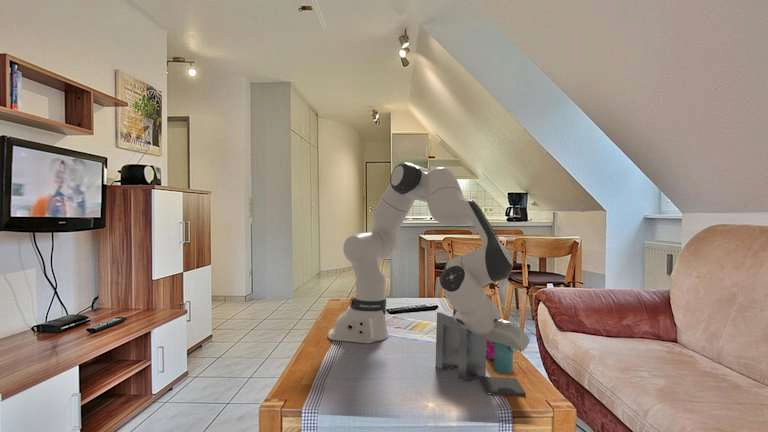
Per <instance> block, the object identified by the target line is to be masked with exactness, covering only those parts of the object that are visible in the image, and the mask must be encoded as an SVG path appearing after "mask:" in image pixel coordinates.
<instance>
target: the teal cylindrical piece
mask: <svg viewBox="0 0 768 432" xmlns="http://www.w3.org/2000/svg"><path fill="white" fill-rule="evenodd" d="M508 348H509V346H506V345H503V344H500V343H497V342H495V345H494V360H493V371H495V372H496V373H499V374H504V375H508V374H512V373H513V371H514V370H513V369H514V352H511V351H510V350H509V349H508Z"/></svg>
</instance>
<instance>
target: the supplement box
mask: <svg viewBox="0 0 768 432" xmlns="http://www.w3.org/2000/svg"><path fill="white" fill-rule="evenodd" d="M486 358H488V360H490V361H494V345H492V344H491V343H490V342H489V341H488V340H487V345H486Z"/></svg>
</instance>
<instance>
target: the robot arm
mask: <svg viewBox="0 0 768 432" xmlns="http://www.w3.org/2000/svg"><path fill="white" fill-rule="evenodd" d="M389 181H390V183H389V185H388V186H387V187H386V189H385V191H384V192H383V194H382V196H381V197H380V200H379V202H378V203H377V205H376V207H375V209H374V211H373V213H372V218H373V220H374V223H373V227H372V229H371V230H370V231H369V232H368V231H367V232H358V233H355V234H352V235H350V236H348V237H347V238H346V239H345V240H344V243H343V254H344V256H345V258H346V259H347V260H348V261H349V262H350V263H351V266H352V268H353V272H354V276H355V296H351V297H350V298H349V308H347V310H345V311H343V313H341V314H340V315H338V316H337V318H336V320H335V322H334V327H332V328H331V329H330V330H328V334H327V337H328V339H329V340H332V341H340V342H351V343H361V344H372V343H374V342H379V341H383V340H386V339H387V338H389V332H388V328H387V327H388V326H387V319H386V313H387V298H386V282H387V280H386V277H385V275H384V274H383V273H382V272H381V269H380V266H379V261H386V260H387V259H388V260H389V258H391V257H393V256H395V255H396V253H397V252H398V248H399V242H398V236H399V235H398V234H399V231H400V229H401V226H402V225H403V223H404V220H405V219H406V217H407V216H408V214H409V211H410V210H411V208H412V206H413V204H414V202H415V201H420V202H424V203H427V207H428V210H429V212H430V215H431V218H432V219H433V220H434V221H435V222H437V223H439V224H440V225H443V226H448V227H449V226H450V227H457V226H467V225H470V226H473V227H474V229H475V231H476V232H477V235H478V236H479V238H480V240H481V241H482V244H481V246H479V248H476V249H474V250H472V251H469V252H466V253H465V254H462V255H459V256H457V257H454V258H453V259H451V260H450V259H449V261H447V262H446V264H445V265H444V267H443V271H442V274H441V276H440V279H439V285H440V288H441V290H442V293H443V294H444V296H445V298H446V300H447V301H448V302H449V304H450V305H451V306H452V308H454V309H455V310H456V311H457V312H456V314H455V315H454V317H453V318H454V320H455V321H456V322H458V323H459V324H460V325H461V326H462V327H463V328H464V329H465V328H468V330H469V331H470V332H471V333H472V334H474V335H477V336H480V337H483V338H485V339H486V340H488V341H489V342H490V343H491V344H492V345H495V342H497V343H500V344H503V345H506V346H509V348H508V349H509V350H510V351H511V352H513V354H514V353H515V354H516V353H517V352H518V351H521V352H524V351H525V350H526V349H527V347H528V345H529V344H530V337H529V336H528V335H527V334H526V333H525V332H524V331H523V329H522V328H521V327H520V326H518V325H517V323H514V322H512V321H508V320H506V319H502V318H501V313H500V311H499V309H498V308H497V306H496V304H494V302H493V300H492V299H491V298H490V297H489V296H488V295H486V294H485V291H484V288H483V287H484V286H486V285H490V284H492V283H495V282H499V281H500V282H501V281H503V280H506V279H508V278H509V276H510V274H511V273H512V270H513V268H514V263H513V259H512V256H511V254H510V252H509V251H508V250H507V248H506V247H505V246H504V245H503V243H502V241H500V239H499V237H498V235H497V234H496V232H495V231H494V228H493V227H492V225H491V223H490V222H489V220H488V218H487V216H486V215H485V213H484V212H483V210H482V209H481V207H480V206H479V204H478V203H477V202H475V201H474V200H473V199H467V198H466V197H464V195H463V191H462V189H461V186H460V183H459V182H458V178H456V175H455V174H454V172H453V171H452V170H451V169H449V168H447V167H443V166H441V167H440V166H439V167H435V168H432V169H430V168H426V167H422V166H419V165H416V164H413V163H411V162H400V163H398V164H397V165H396V166H395V167H394V168H393V171H392V172H391V175H390V180H389Z"/></svg>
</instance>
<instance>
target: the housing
mask: <svg viewBox="0 0 768 432" xmlns="http://www.w3.org/2000/svg"><path fill="white" fill-rule="evenodd" d="M452 308H453V307H452ZM456 312H457V311H456V310H455V309H454V308H453V309H448V310H441V311H436V336H435V337H436V339H435V341H436V342H435V368H436V367H437V369H438V368H439V370H440V371H445V370H448V368H449V369H452V368H451V367H453V368H456V367H458V374H457V375H458V376H457V377H458V379H460V380H461V379H462V380H461V381H463V380H464V381H463V382H465V381H467V382H470V381H473V379H474V380H477V379H480V378H479V377H487V376H486V372H487V371H486V369H487V356H486V345H487V340H486V339H485V338H483V337H480V336H477V335H474V334H472V333H471V332H470V331H469V330H468V328H465V329H464V328H463V327H462V326H461V325H460V324H459V323H458V322H456V321H455V320H454V318H453V317H454V315H455V314H456ZM476 378H477V379H476Z"/></svg>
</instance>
